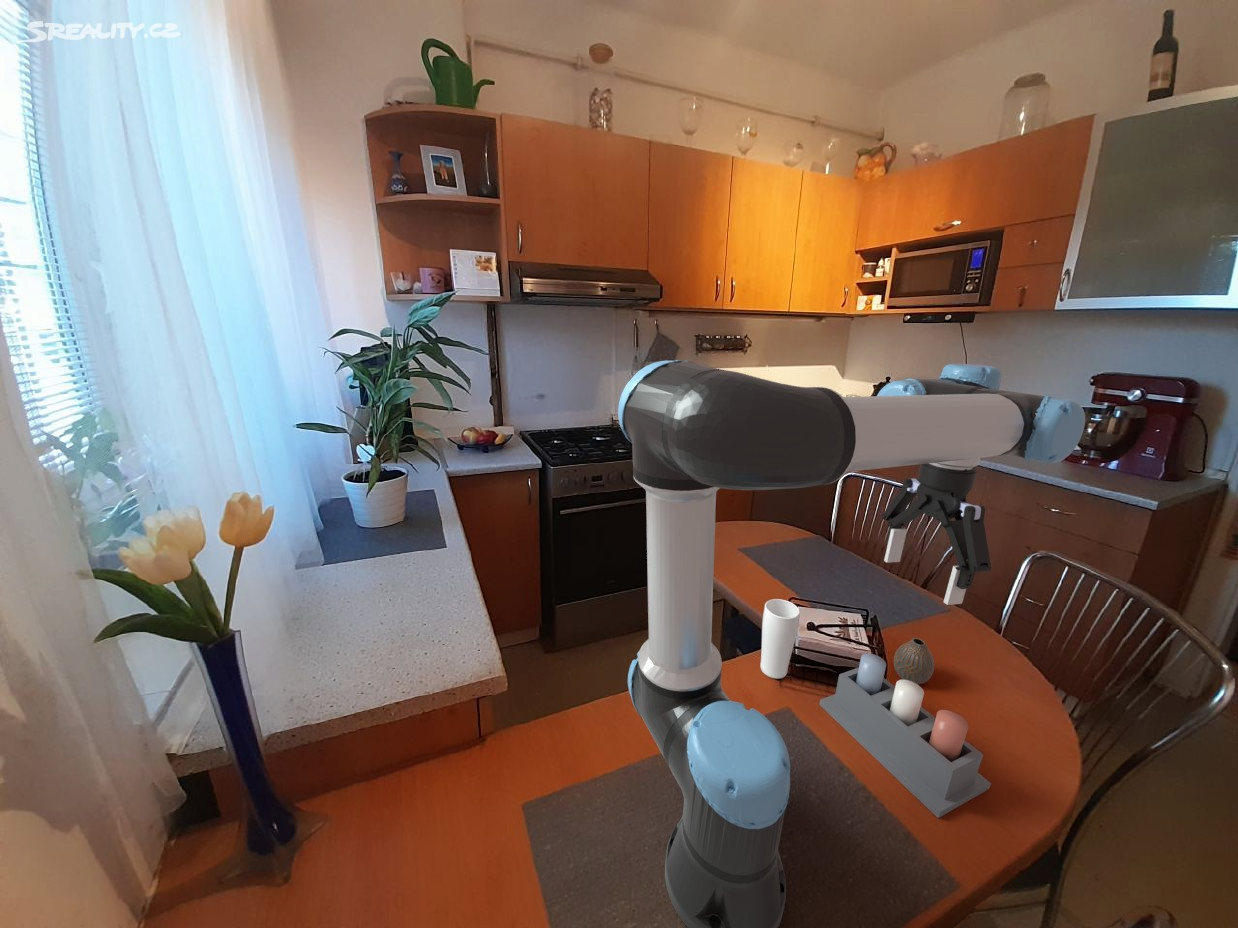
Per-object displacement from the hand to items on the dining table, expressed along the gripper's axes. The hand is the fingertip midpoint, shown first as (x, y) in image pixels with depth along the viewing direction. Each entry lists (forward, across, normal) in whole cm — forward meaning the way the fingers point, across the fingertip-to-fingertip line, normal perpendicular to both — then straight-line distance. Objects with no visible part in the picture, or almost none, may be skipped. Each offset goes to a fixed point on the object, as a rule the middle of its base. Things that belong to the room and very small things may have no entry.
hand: (919, 580), depth 83 cm
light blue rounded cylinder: (+22, -1, +6) cm, 23 cm away
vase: (+27, +6, -10) cm, 29 cm away
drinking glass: (+27, +12, +17) cm, 34 cm away
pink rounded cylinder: (+22, -14, +3) cm, 27 cm away
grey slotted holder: (+27, -8, +5) cm, 28 cm away
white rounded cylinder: (+22, -8, +5) cm, 24 cm away
